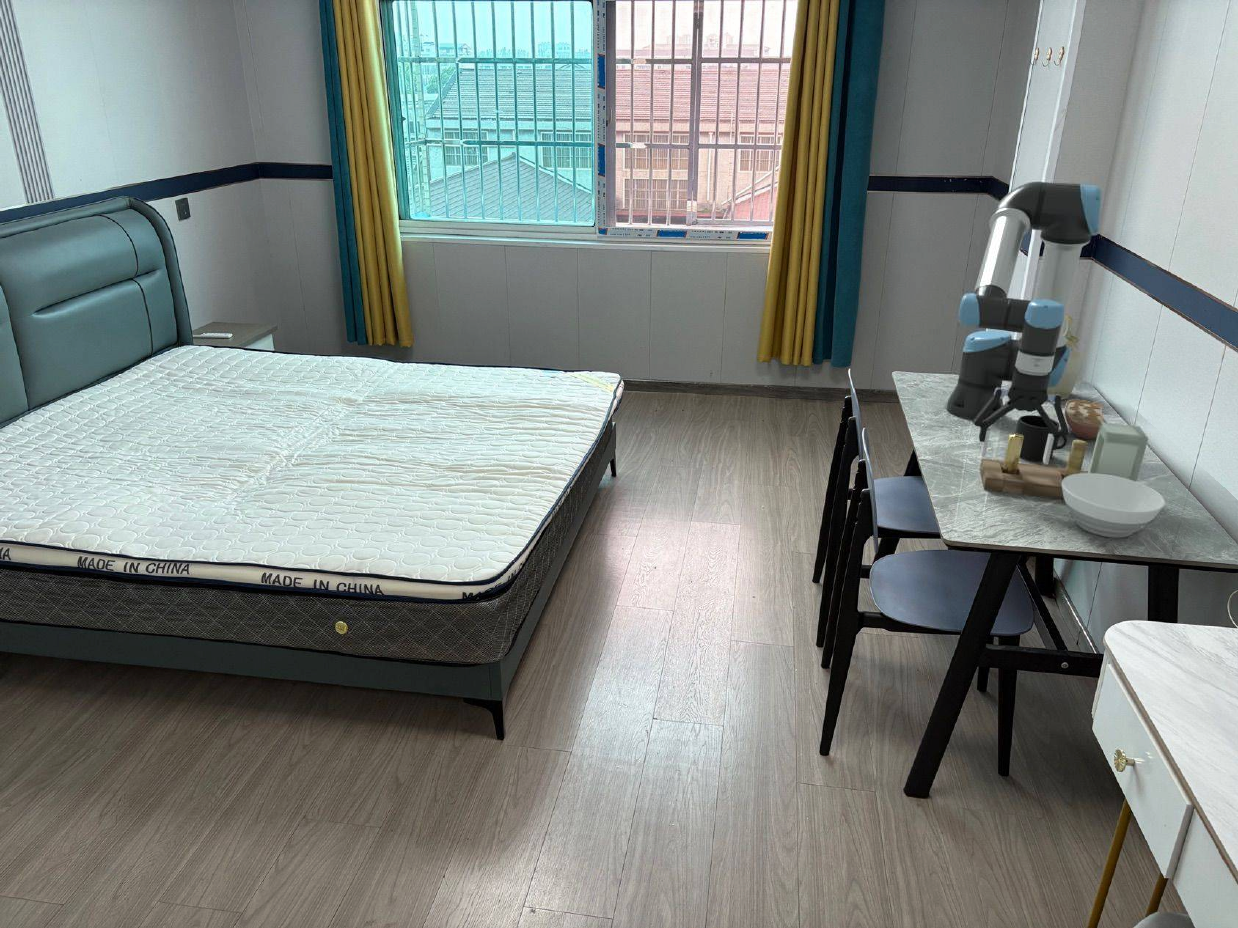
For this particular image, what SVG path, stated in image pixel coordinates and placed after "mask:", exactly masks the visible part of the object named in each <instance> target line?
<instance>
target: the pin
mask: <svg viewBox="0 0 1238 928" xmlns="http://www.w3.org/2000/svg"><path fill="white" fill-rule="evenodd" d="M1023 437H1024V436H1023V435H1022V434H1019V433H1016V432H1011V433H1009V436H1008V440H1007V441H1008V442H1007V445H1006V452H1005V457H1004V461H1005V462H1004V467H1003V472H1002V473H1005V474H1013V475H1016V473H1017V468H1018V463H1020V453H1021V448H1022V442H1023Z"/></svg>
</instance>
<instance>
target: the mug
mask: <svg viewBox="0 0 1238 928" xmlns="http://www.w3.org/2000/svg"><path fill="white" fill-rule="evenodd" d="M1050 419H1051V421H1052V422H1053V424H1054V425H1055V427H1056V428H1057V430H1059V429H1060V424H1059V421H1057V420H1054V419H1052V418H1050ZM1015 433H1019V434H1022V435H1023V436H1024V437H1023V442H1022V448H1021V453H1020V458H1021V459H1024V460H1027V461H1032V462H1033V461H1034V462H1043V456H1044V452H1045V448H1046V443H1047V439H1048V434H1052V432H1051V431H1050V429H1049V428H1048V426H1047V425H1046V423H1045V422H1044V420H1043V419H1042V417H1041V416H1040V415H1034V414H1031V415H1028V414H1027V415H1022V416H1020V417H1018V421H1017V425H1016V430H1015ZM1052 435H1053V434H1052ZM1060 438H1062V439H1063V443H1062V444H1060V445H1057V448H1056V450H1061V449H1063V448H1065V447H1066V446H1067V444H1068V436H1061V437H1060ZM1054 451H1055V450H1051V453H1050V458H1049V461H1050V460H1051V459H1052V458H1053V456H1054ZM1020 458H1019V459H1020Z"/></svg>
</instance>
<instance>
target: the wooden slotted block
mask: <svg viewBox="0 0 1238 928" xmlns="http://www.w3.org/2000/svg"><path fill="white" fill-rule="evenodd" d="M1087 447H1088V442H1087V441H1084V440H1081V439H1074V440H1072V443H1071V447H1070V452H1069V456H1068V460H1067V464H1066V468H1065V467H1064V468H1062V467H1055V466H1047V465H1038V464H1031V463H1024V462H1023V463H1022V462H1019V463H1018V468H1017V473H1016V475H1013V474H1005V473H1002V472H1003V467H1004V462H1005V460H996V459H989V458H981V462H980V466H979V474H980V477H981V482H982V487H983V490H985V491H994V492H1001V493H1011V494H1018V495H1025V496H1031V497H1033V496H1034V497H1041V498H1046V499H1047V498H1048V499H1056V500H1064V496H1063V490H1062V481H1063V479H1064V478H1065V477H1067V476H1069V475H1073V474H1079V473H1088V471H1089V470H1082V467H1083V463H1084V458H1085V456H1086V451H1087ZM1064 501H1065V500H1064Z"/></svg>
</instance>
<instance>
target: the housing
mask: <svg viewBox="0 0 1238 928" xmlns="http://www.w3.org/2000/svg"><path fill="white" fill-rule="evenodd" d="M1148 440H1149V437H1148V436H1147V435H1146V433H1145V432H1144V430H1143V429H1142V428H1141V427H1140V426H1138V425H1130V424H1121V423H1111V422H1107V423H1104V422H1101V423H1100V427H1099V431H1098V435H1097V437H1096V441H1095V444H1094V448H1093V452H1092V457H1091V460H1090V462H1089V468H1088V470H1087V471H1088V473H1097V474H1106V475H1112V476H1117V477H1121V478H1126V479H1129V480H1132V481H1135V482H1137V481H1138V477H1139V475H1140V471H1141V467H1142V463H1143V459H1144V455H1145V453H1146V449H1147V445H1148Z"/></svg>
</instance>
